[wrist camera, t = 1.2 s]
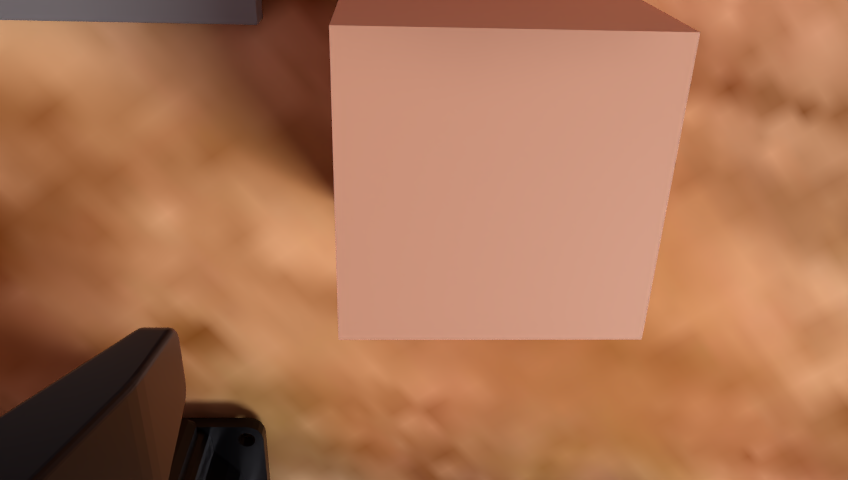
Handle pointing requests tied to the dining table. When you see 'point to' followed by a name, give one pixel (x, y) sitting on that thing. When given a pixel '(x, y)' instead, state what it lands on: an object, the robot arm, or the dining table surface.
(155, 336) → the robot arm
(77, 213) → the dining table surface
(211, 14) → the mat
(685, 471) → the dining table surface
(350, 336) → the cube
